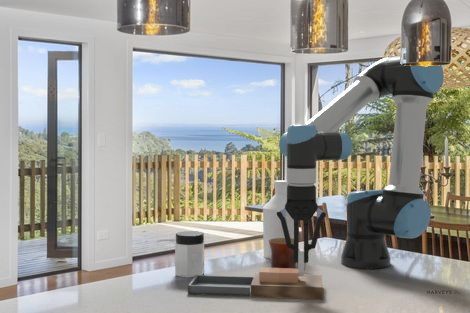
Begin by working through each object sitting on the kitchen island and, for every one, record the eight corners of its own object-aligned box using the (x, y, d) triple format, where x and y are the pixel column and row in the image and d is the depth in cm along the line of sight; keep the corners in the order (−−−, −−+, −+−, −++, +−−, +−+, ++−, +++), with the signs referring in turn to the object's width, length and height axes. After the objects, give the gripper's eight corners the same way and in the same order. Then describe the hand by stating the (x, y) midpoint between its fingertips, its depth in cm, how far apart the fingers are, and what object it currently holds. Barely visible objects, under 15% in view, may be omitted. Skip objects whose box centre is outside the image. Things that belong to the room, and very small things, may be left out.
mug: (289, 281, 167) (289, 244, 166) (262, 276, 172) (262, 241, 171) (309, 272, 177) (309, 238, 176) (284, 268, 182) (284, 234, 181)
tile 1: (279, 277, 159) (279, 268, 159) (278, 282, 154) (278, 272, 154) (260, 276, 160) (260, 267, 159) (259, 281, 155) (259, 272, 155)
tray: (253, 284, 163) (253, 276, 163) (249, 296, 152) (249, 287, 152) (196, 282, 165) (196, 275, 165) (187, 294, 154) (187, 285, 154)
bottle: (300, 252, 204) (300, 179, 203) (296, 260, 192) (296, 183, 191) (266, 251, 207) (266, 179, 205) (259, 258, 195) (259, 182, 194)
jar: (180, 279, 169) (179, 237, 169) (170, 272, 177) (170, 232, 176) (209, 275, 173) (209, 234, 172) (199, 269, 180) (199, 230, 180)
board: (321, 286, 161) (321, 275, 161) (322, 299, 149) (322, 287, 149) (255, 284, 163) (255, 273, 163) (250, 296, 152) (250, 285, 151)
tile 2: (298, 278, 158) (298, 268, 158) (298, 282, 153) (298, 273, 153) (279, 277, 159) (279, 268, 159) (278, 282, 154) (278, 272, 154)
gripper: (326, 183, 157) (325, 272, 158) (276, 182, 159) (276, 270, 160) (327, 186, 150) (326, 279, 151) (275, 185, 151) (275, 277, 153)
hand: (301, 274), depth 156 cm, fingers closed
